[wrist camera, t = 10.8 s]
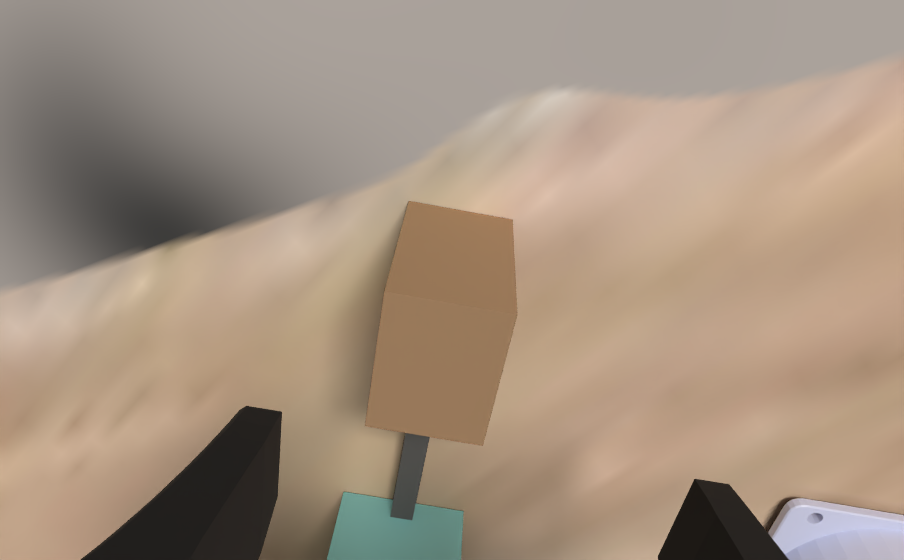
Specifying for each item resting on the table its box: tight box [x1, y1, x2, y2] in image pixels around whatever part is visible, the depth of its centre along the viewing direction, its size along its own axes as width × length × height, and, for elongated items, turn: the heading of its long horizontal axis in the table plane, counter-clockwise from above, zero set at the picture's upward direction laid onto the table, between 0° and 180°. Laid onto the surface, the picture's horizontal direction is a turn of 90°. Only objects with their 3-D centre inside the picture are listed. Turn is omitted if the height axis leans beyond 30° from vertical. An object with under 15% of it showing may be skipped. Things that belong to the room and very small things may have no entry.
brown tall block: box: [327, 201, 517, 560], centre depth 22 cm, size 4×17×5 cm, turn 170°
